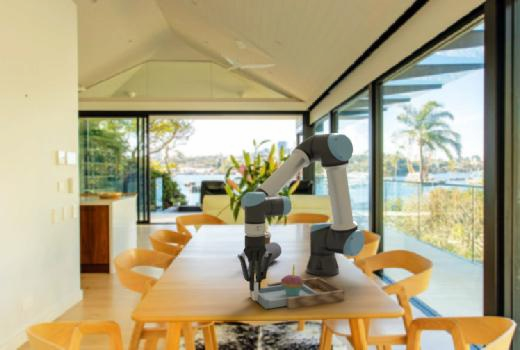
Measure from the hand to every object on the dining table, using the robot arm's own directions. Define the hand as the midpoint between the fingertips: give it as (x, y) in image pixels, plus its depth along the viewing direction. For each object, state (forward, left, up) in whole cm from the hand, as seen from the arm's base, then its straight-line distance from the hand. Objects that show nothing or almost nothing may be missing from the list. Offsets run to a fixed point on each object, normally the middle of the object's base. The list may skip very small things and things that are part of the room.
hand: (255, 299), depth 141 cm
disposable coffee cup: (-33, -71, -2) cm, 78 cm away
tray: (-12, 0, -1) cm, 12 cm away
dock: (-21, 0, -1) cm, 21 cm away
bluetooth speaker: (-25, -49, -2) cm, 55 cm away
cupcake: (-15, 0, 0) cm, 15 cm away
